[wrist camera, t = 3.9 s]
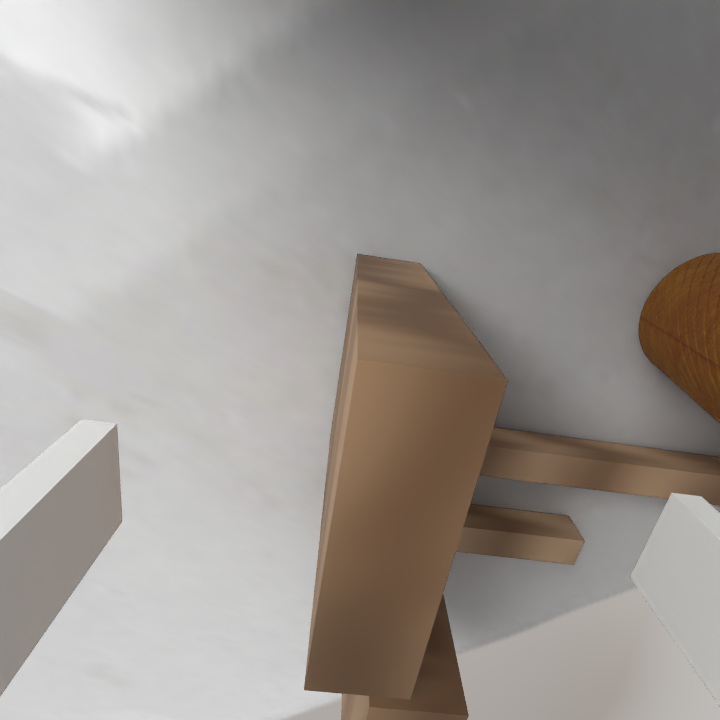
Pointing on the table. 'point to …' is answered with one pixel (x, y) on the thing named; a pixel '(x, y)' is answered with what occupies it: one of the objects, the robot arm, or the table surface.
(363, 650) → the bent wooden rail
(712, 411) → the disposable coffee cup
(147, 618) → the table surface
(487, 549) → the wooden mallet
